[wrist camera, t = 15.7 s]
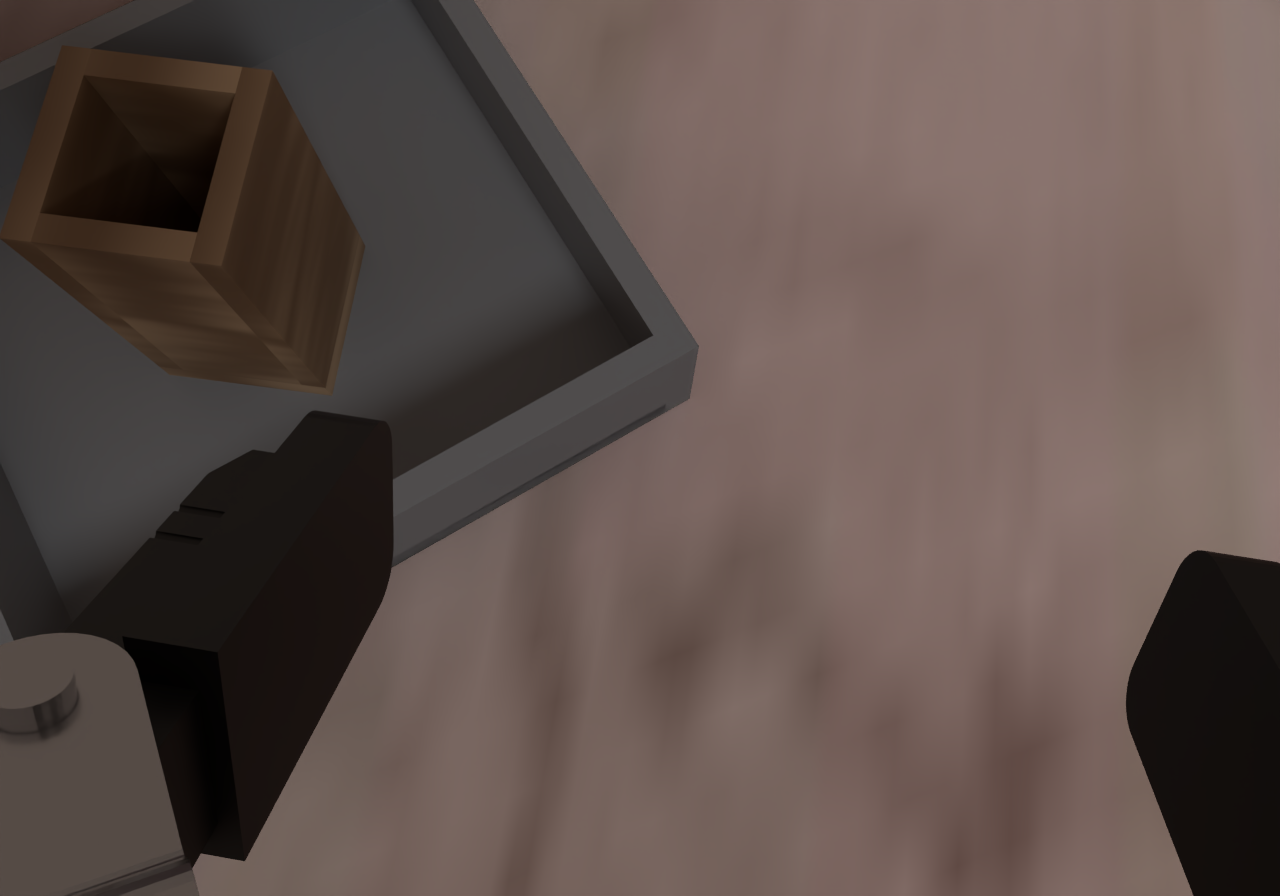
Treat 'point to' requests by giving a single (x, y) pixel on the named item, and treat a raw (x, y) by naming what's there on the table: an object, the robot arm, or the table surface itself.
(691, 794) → the table surface
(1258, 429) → the table surface
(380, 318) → the grey tray
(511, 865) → the table surface
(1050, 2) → the table surface
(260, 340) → the walnut crate
